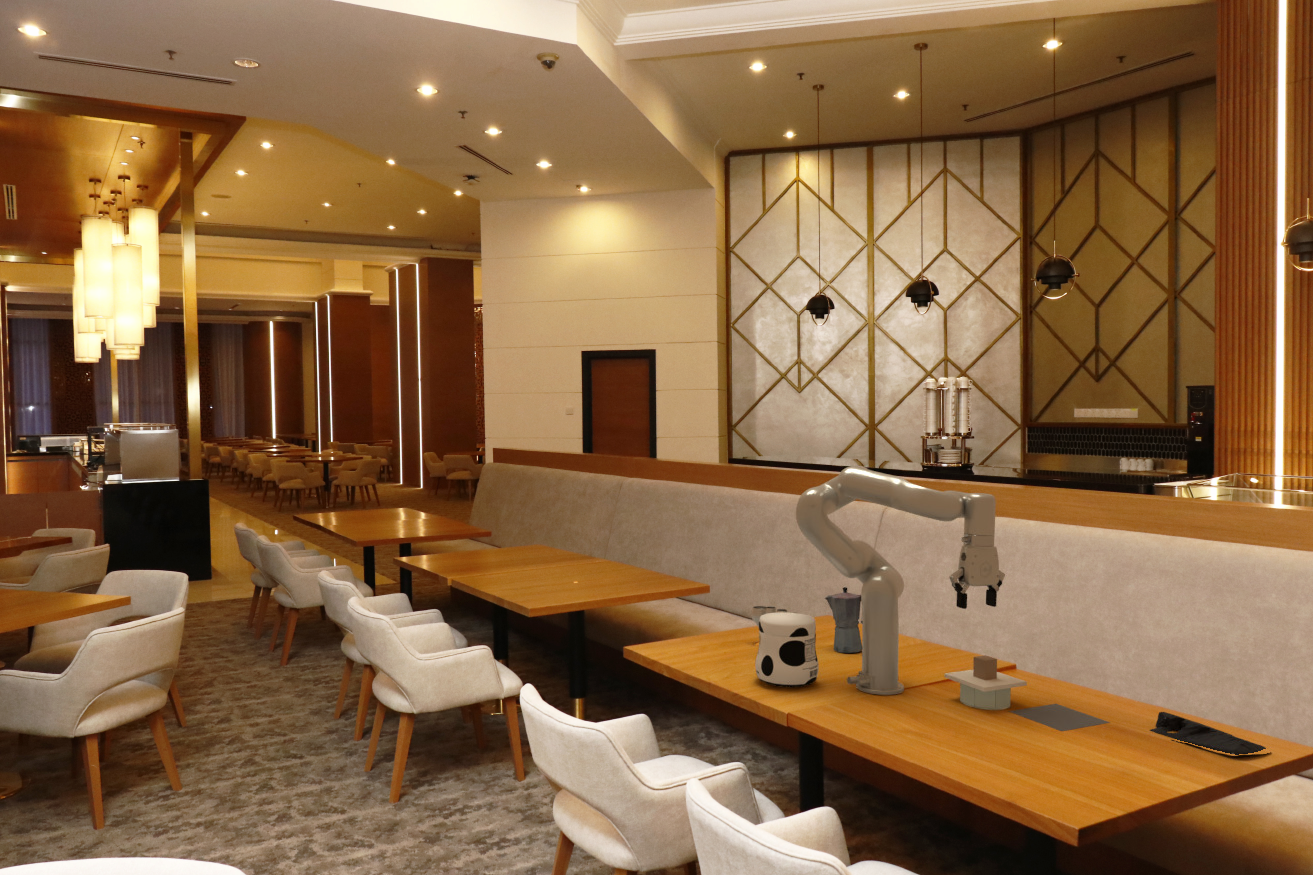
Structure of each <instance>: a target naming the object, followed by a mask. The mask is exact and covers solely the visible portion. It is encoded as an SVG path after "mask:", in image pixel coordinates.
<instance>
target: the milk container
mask: <svg viewBox="0 0 1313 875" xmlns="http://www.w3.org/2000/svg"><path fill="white" fill-rule="evenodd" d="M816 627H817V624H816V619H815V617H813V616H811V615H808V614H804V613H799V612H794V613H790V612H787V613H786V612H779V613H768V614H764V615H761V617H760V620H759V628H758V642H759V646H758V648H757V649H758V650H757V654H756V658H755V663H754V665H755V672H756V673H755V674H756V676H757V678H758V679H759V680H760V681H761V682H762V683H764V684H767V685H770V686H774V687H780V688H800V687H806V686H809V685H811V684H814V683H815V682H816V680H817V678H818V675H819V670H820V668H819V667H820V666H819V659H818V655H817V651H816V650H817V649H816V641H817V640H816V639H817V636H816V635H817V634H816V629H817V628H816Z"/></svg>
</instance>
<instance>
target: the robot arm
mask: <svg viewBox="0 0 1313 875" xmlns="http://www.w3.org/2000/svg"><path fill="white" fill-rule="evenodd" d="M856 500H861V501H864V502H869V503H873V504H876V505H879V506H884V507H889V508H892V509H895V510H898V511H902V512H905V513H910V514H912V515H916V516H919V517H922V518H923V517H924V518H928V519H932V520H936V521H939V522H940V521H941V522H952V521H955V520H956V519H963V518H964V519H963V521H964V523H963V537H961V542H962V543H963V545H961V549H960V553H959V557H958V558H959V559H958V567H957V568H958V569H956V571H955V572H953V573H952V574H950V575H949V581H950V583H951V587H953V589H954V591H955V592H956V607H957V608H960V609H965V610H966V609H967V608H968V593H966V592H967V591H968V589H969V587H970V586H971V587H987V589H986V591H985V605H986V606H990V607H993V608H995V607H997V598H998V597H997V596H998V592H999V591H1000V587H1001V586H1002V585H1003V580H1004V579H1005V576H1006V574H1005V573H1004V571H1001V570H1000V562H999V552H998V549H997V546H995V535H996V534H995V530H996V529H995V528H996V506H997V502H996V496H994V495H993V494H990V493H985V492H983V493H982V492H971V493H969V492H963V491H958V490H952V489H951V490H944V491H941V490H937V489H933V488H929V487H925V486H920V485H919V484H915V483H912V482H910V481H908V480H907V479H906V478H903V477H901V476H898V475H892V474H887V473H884V472H879V471H874V470H872V469H869V468H867V467H865V466H862V465H852V466H851V465H850V466H847V467H845V468H844V469H842V470H841V471H840V473H839V474H838V475H837V476H835V477H833V478H831V479H830V480H828V481H826V482H824V483H822V484H820V485H818V486H813V487H810V488H807V490H805V491H804V492H802V494H801V495H800V497H799V498H798V500H797V502H796V507H795V520H796V523H797V526H798V528H799V530H800V532H801V533H802V534H803V536H804V537H805V539H807V540H808V541H809V543H811V544H812V545H813V547H815V548H816V549H817V550H818V551H819V552H820V554H821V555H822V556H824V558H825V559H826V560H827V561H828V562H829V563H830V564H832V565H833V567H834V568H835V569H836V570H837V571H838V572H839V573H840V574H841V575H842V576H843V577H846V578H849V579H856V578H857V580H858V581H860V583H862V586H861V591H860V595H861V615H862V616H861V617H862V619H861V621H862V623H861V625H862V626H861V627H862V628H861V629H862V630H861V631H862V634H861V635H862V636H861V637H862V638H861V643H862V651H861V652H862V653H861V670H859V671H858V674H856V676H854V675H853V676H848V677H847V678H846V683H847V684H848V685H855V687H856V689H857V690H858V691H861V692H864V693H867V694H871V695H877V696H878V695H879V696H892V695H898V694H901V693H903V692H904V690H905V685H904V684H903V683H901V682H899V642H900V641H899V638H900V637H899V635H900V634H899V625H900V624H899V618H900V617H899V598H900V597H901V596H902V594H903V592H904V589H905V584H904V579H903V577H902V575H901V574H900V573H899V571H898V570H897V569H896V568H895V567H894V566H893V565H892V564H891V563H889V561H887V559H886V558H884V557H883V556H882V554H880V552H878V551H877V550H876V549H875V547H873V546H872V545H871V544H868V543H867V542H866V541H863V540H856V539H855V540H853V539H852V538H850V536H848V535H847V534H846V533H845V532H844V531H843V530H842V529H841V528H840V526H838V525H837V524H836V523H835V522H833V521H832V520H831V519H830V518H829V515H831V514H833V513H835V512H836V511H838V510H840V509H842V508H843V507H845V506H847V505H849V504H851V503H852V502H854V501H856Z"/></svg>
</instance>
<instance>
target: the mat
mask: <svg viewBox="0 0 1313 875" xmlns="http://www.w3.org/2000/svg"><path fill="white" fill-rule="evenodd" d="M1008 712H1009V713H1012V714H1015V715H1018V716H1019V717H1022V718H1024V719H1025V718H1026V719H1028V720H1030V721H1034V722H1036V723H1039V724H1041V725H1044V726H1046V727H1048V728H1051V729H1055V730H1057V731H1060V732H1066V731H1071V730H1077V729H1083V728H1088V727H1092V726H1099V725H1104V724H1105V725H1106V724H1109V723H1111V722H1110V721H1108V720H1105V719H1103V718H1099V717H1095V716H1093V715H1090V714H1087V713H1084V712H1081V711H1078V710H1075V709H1073V708H1070V707H1067V706H1063V705H1061V704H1058V703H1052V704H1045V705H1039V706H1033V707H1027V708H1021V709H1016V710H1015V709H1014V710H1009V711H1008Z"/></svg>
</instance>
